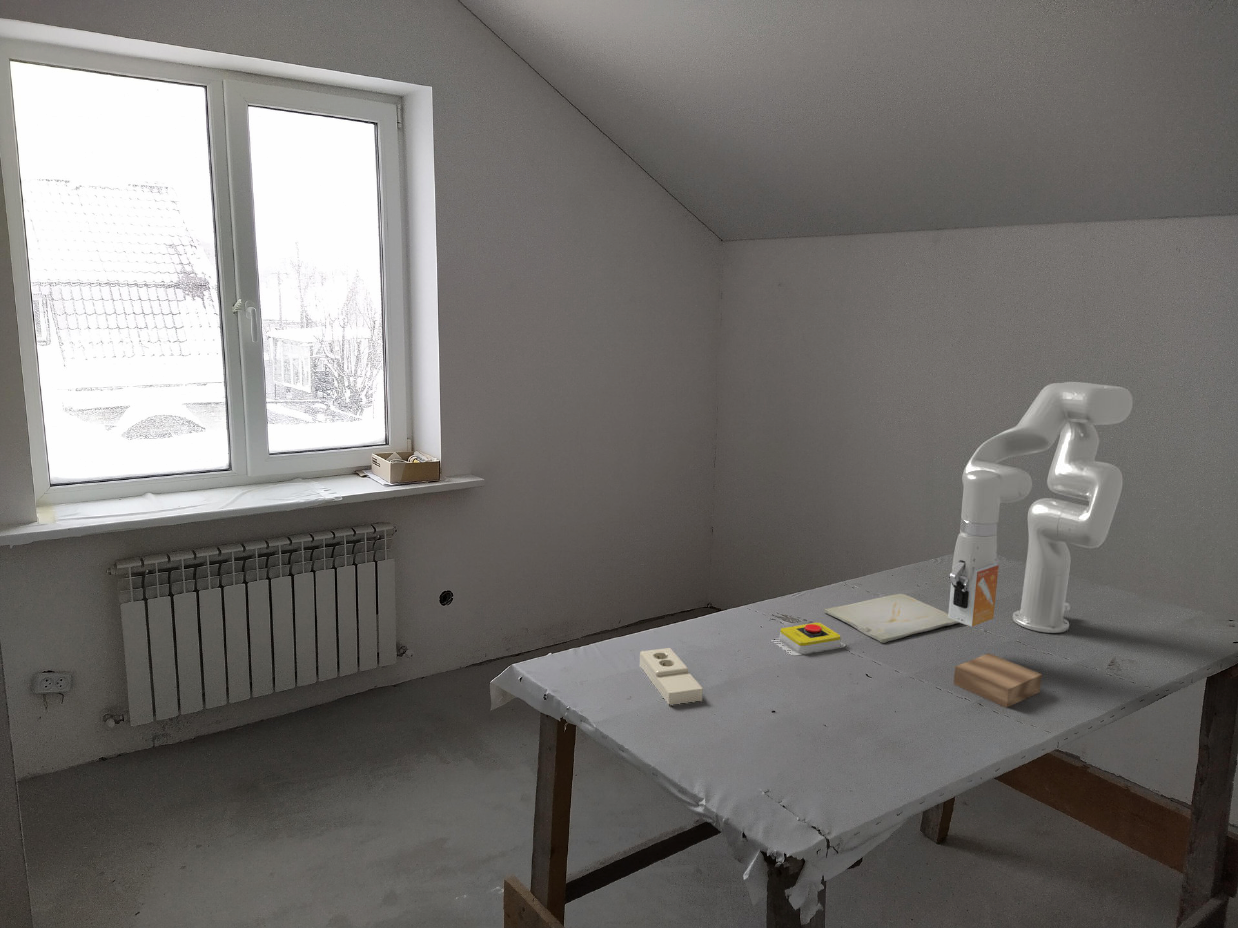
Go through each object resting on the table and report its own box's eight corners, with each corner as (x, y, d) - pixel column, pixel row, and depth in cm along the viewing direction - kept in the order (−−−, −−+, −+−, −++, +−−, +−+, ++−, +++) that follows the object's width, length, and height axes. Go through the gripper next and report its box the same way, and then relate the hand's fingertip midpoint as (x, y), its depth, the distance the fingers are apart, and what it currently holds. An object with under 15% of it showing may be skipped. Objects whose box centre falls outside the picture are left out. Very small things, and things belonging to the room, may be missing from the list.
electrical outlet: (669, 688, 169) (639, 650, 186) (668, 707, 170) (639, 668, 187) (702, 684, 171) (670, 646, 188) (702, 702, 172) (670, 664, 189)
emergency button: (848, 630, 198) (793, 640, 192) (847, 648, 198) (792, 658, 193) (824, 615, 206) (770, 624, 200) (823, 633, 207) (769, 642, 201)
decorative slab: (883, 647, 200) (884, 639, 199) (820, 615, 218) (821, 608, 217) (963, 625, 213) (964, 618, 212) (898, 597, 231) (898, 590, 230)
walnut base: (986, 669, 188) (988, 652, 187) (1039, 692, 178) (1042, 674, 177) (953, 683, 181) (955, 666, 180) (1006, 707, 171) (1008, 689, 170)
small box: (972, 627, 188) (977, 571, 185) (947, 618, 193) (951, 563, 190) (994, 618, 193) (999, 564, 189) (969, 609, 198) (974, 555, 195)
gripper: (986, 515, 196) (980, 587, 200) (939, 530, 186) (933, 605, 190) (1017, 523, 190) (1010, 597, 194) (970, 539, 180) (963, 616, 184)
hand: (972, 601), depth 192 cm, fingers closed on small box, 8 cm apart
